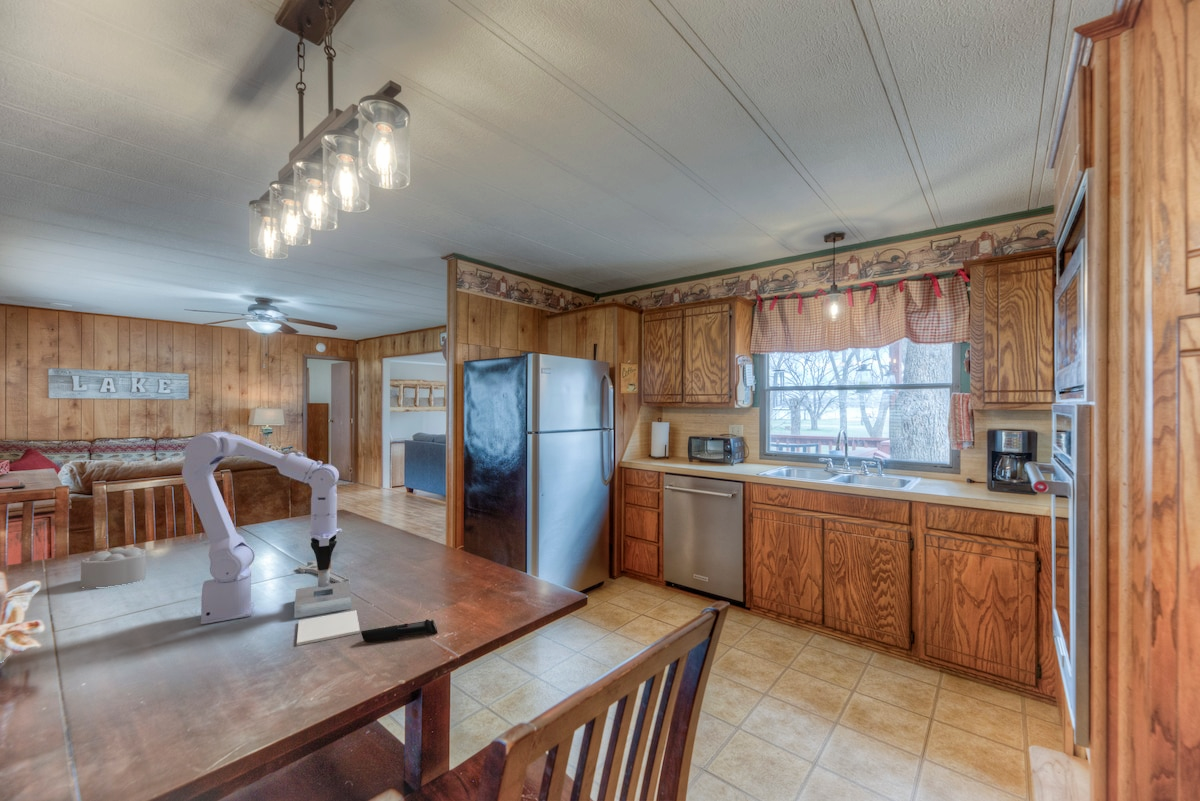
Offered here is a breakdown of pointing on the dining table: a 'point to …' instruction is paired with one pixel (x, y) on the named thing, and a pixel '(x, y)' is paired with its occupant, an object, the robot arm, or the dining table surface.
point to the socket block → (322, 599)
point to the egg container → (113, 567)
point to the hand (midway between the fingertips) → (323, 567)
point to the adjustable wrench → (313, 569)
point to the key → (324, 577)
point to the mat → (327, 627)
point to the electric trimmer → (399, 631)
